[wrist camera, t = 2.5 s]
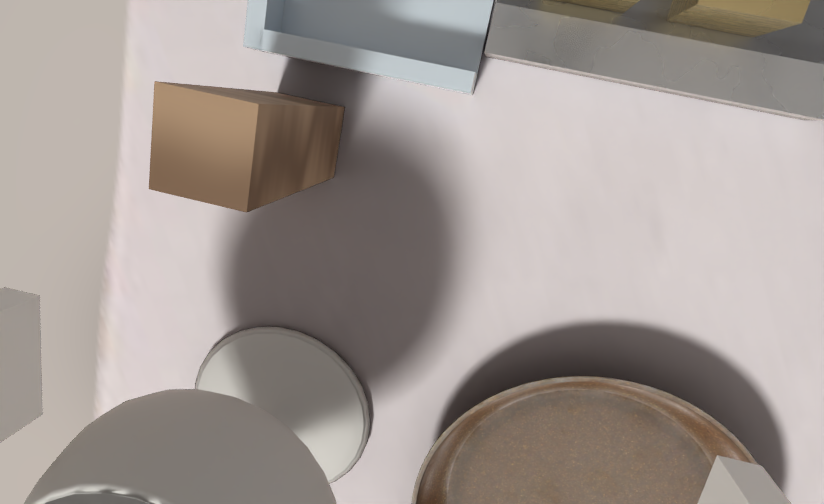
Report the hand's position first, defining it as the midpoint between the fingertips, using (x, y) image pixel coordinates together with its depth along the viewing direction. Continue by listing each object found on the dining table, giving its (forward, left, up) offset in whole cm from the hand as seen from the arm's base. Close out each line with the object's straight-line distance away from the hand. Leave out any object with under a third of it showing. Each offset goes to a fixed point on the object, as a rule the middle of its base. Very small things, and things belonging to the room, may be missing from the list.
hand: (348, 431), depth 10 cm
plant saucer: (+16, +12, -21) cm, 29 cm away
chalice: (+15, -8, -21) cm, 27 cm away
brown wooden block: (-3, -9, -21) cm, 23 cm away
